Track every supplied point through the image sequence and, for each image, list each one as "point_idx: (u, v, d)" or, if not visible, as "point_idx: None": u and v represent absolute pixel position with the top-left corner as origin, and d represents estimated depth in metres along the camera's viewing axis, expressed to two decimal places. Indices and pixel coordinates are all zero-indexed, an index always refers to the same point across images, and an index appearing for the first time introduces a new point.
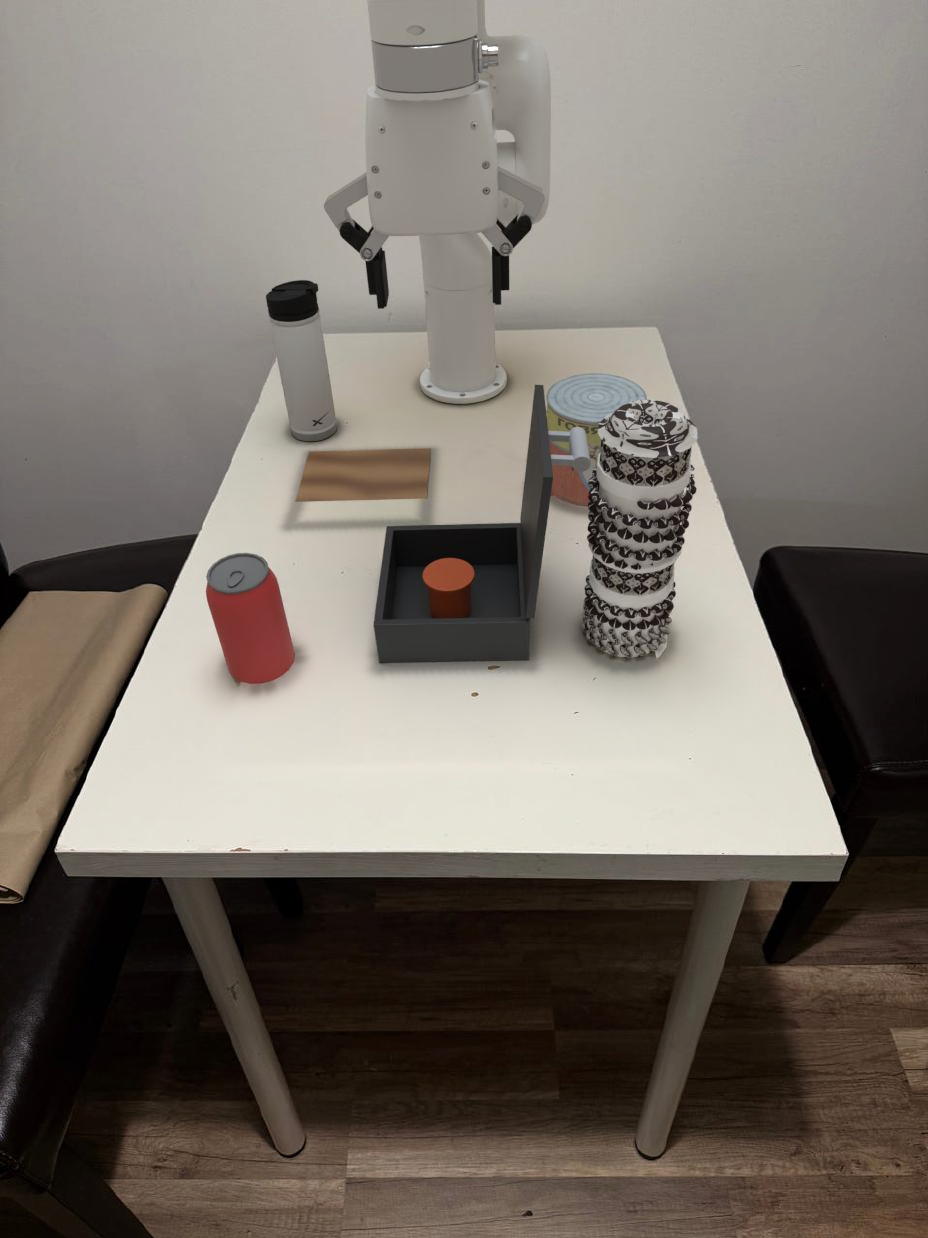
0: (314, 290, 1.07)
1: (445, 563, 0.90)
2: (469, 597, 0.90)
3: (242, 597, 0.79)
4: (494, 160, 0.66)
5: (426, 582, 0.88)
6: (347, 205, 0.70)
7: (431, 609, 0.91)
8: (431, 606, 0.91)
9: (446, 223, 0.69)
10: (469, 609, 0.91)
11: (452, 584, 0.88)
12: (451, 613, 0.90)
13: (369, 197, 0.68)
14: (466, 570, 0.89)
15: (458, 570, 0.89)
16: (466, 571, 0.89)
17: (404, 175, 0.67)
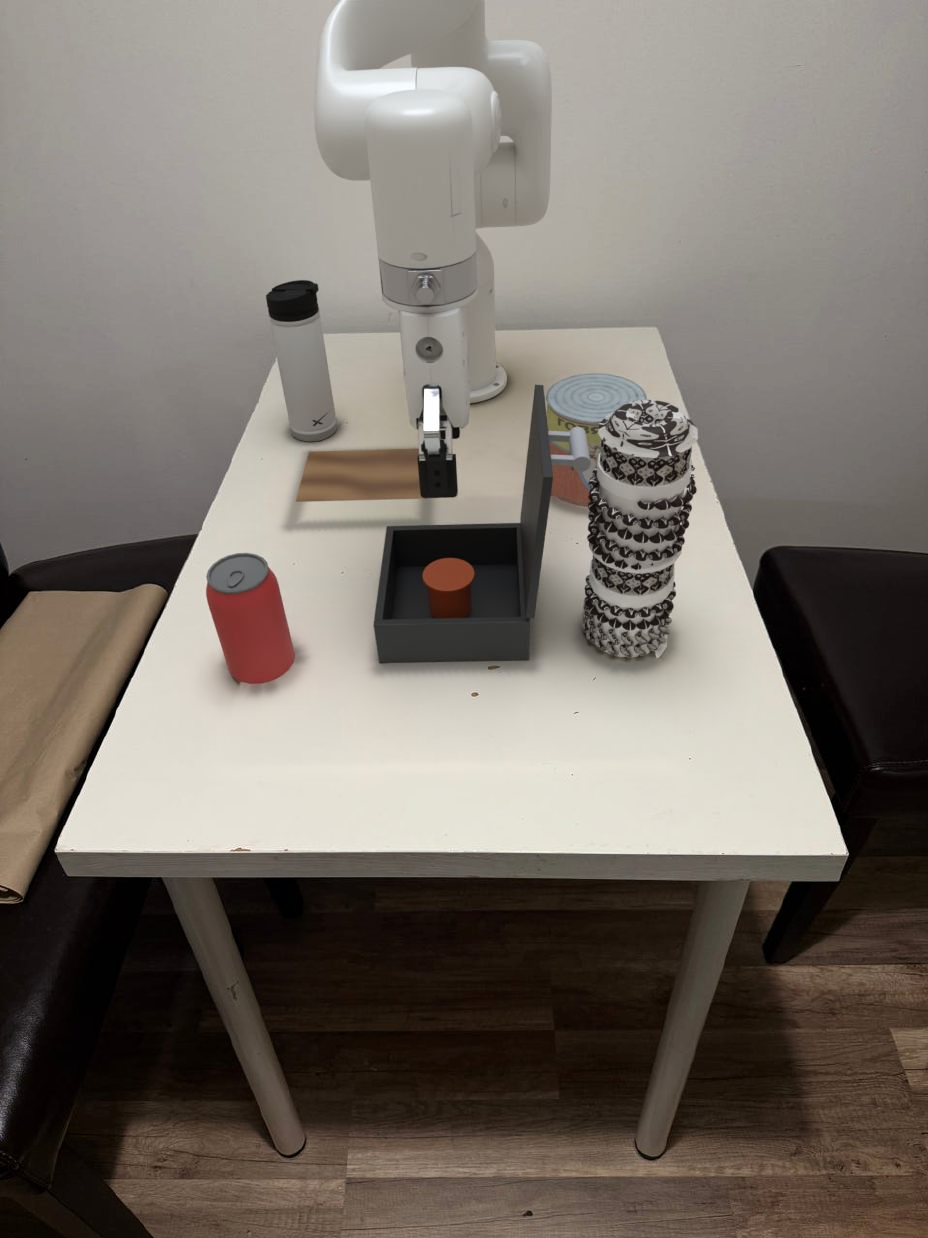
0: (314, 290, 1.07)
1: (445, 563, 0.90)
2: (469, 597, 0.90)
3: (242, 597, 0.79)
4: (410, 375, 0.70)
5: (426, 582, 0.88)
6: None
7: (431, 609, 0.91)
8: (431, 606, 0.91)
9: None
10: (469, 609, 0.91)
11: (452, 584, 0.88)
12: (451, 613, 0.90)
13: None
14: (466, 570, 0.89)
15: (458, 570, 0.89)
16: (466, 571, 0.89)
17: None
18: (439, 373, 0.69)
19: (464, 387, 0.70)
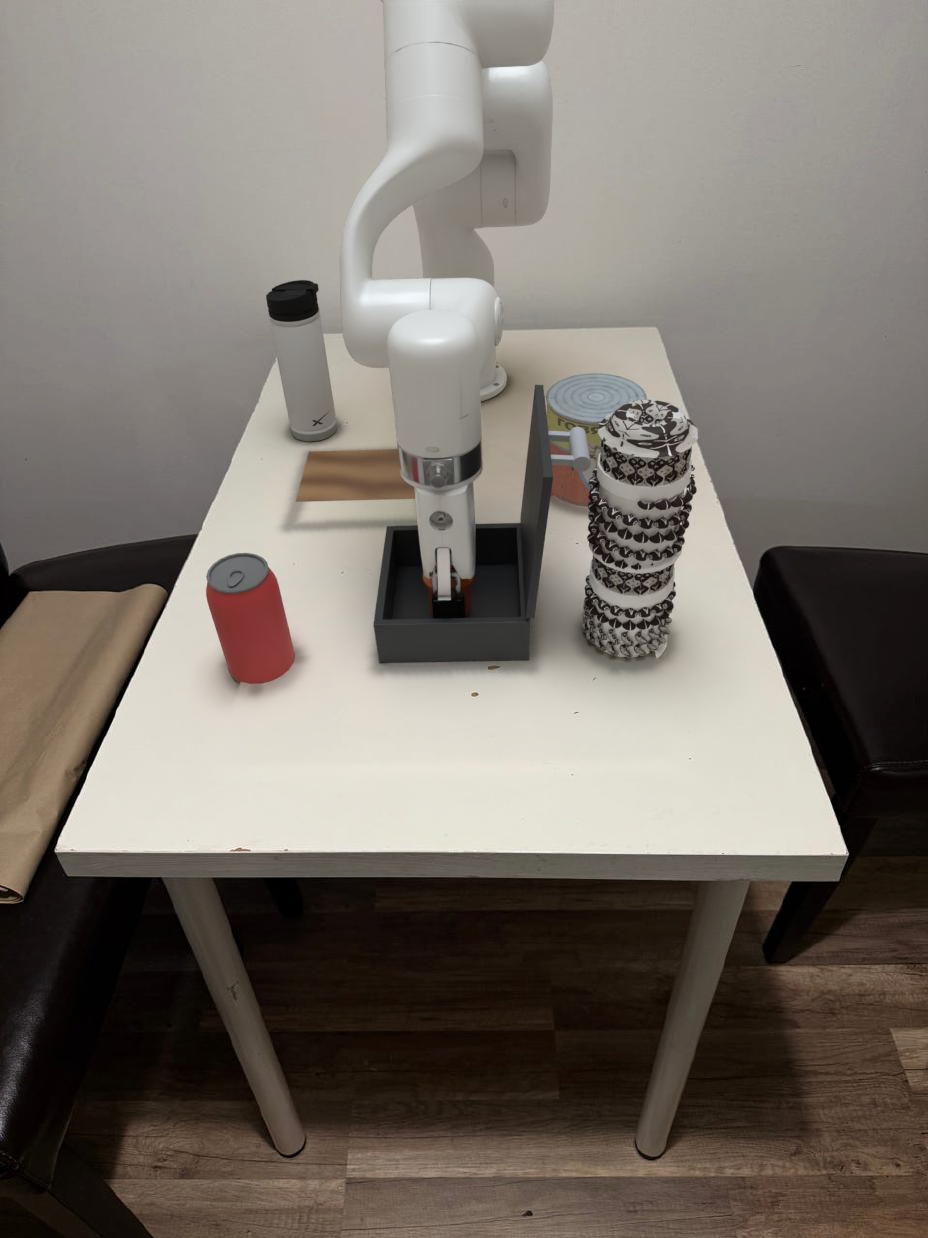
0: (314, 290, 1.07)
1: None
2: (469, 597, 0.90)
3: (242, 597, 0.79)
4: (424, 540, 0.80)
5: (426, 582, 0.88)
6: None
7: (431, 609, 0.91)
8: (431, 606, 0.91)
9: None
10: (469, 609, 0.91)
11: (452, 584, 0.88)
12: None
13: None
14: None
15: None
16: None
17: None
18: (449, 538, 0.80)
19: (471, 548, 0.81)
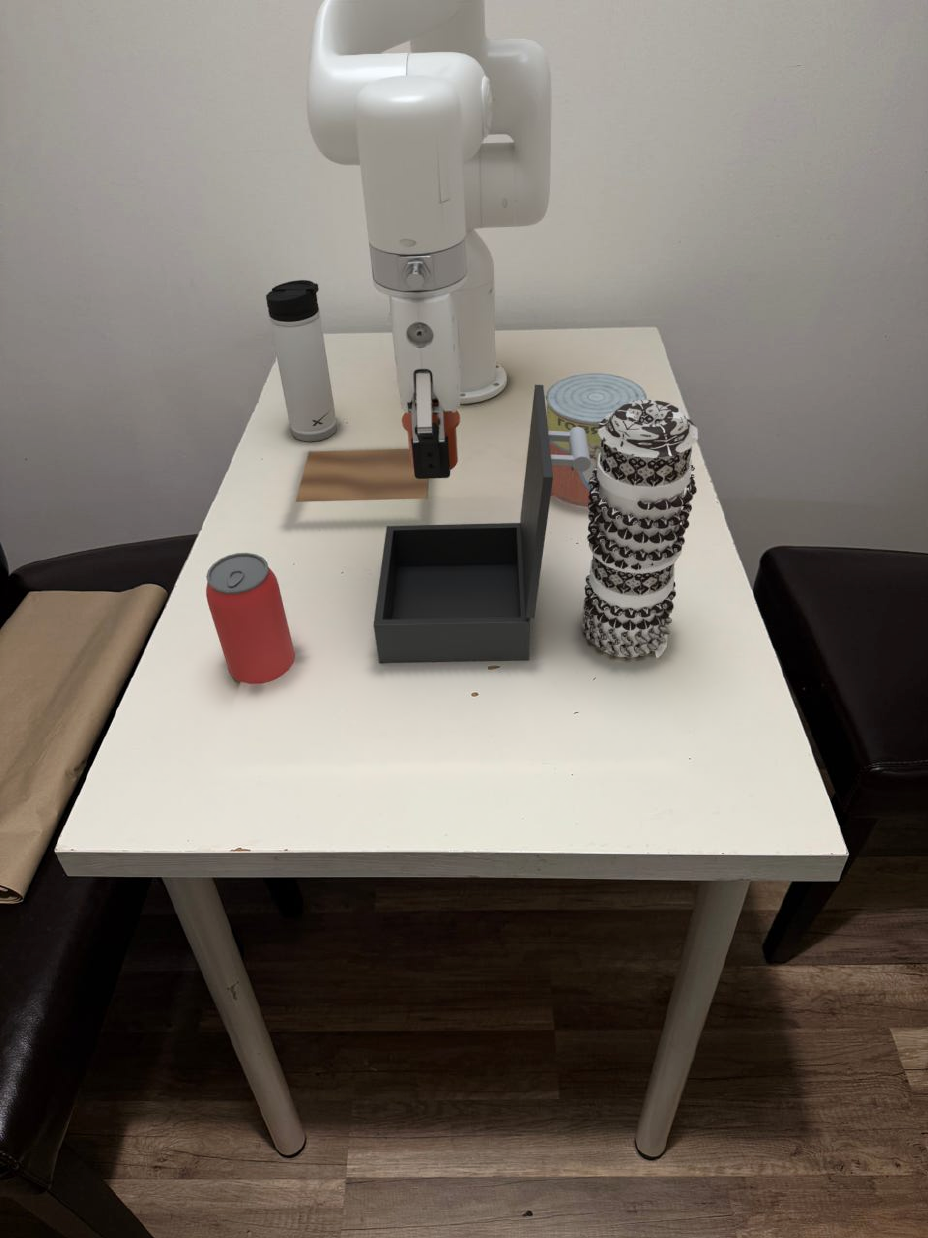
0: (314, 290, 1.07)
1: None
2: (454, 445, 0.80)
3: (242, 597, 0.79)
4: (401, 360, 0.71)
5: (405, 425, 0.79)
6: None
7: (412, 460, 0.81)
8: (412, 456, 0.81)
9: None
10: (454, 460, 0.81)
11: None
12: None
13: None
14: (451, 414, 0.80)
15: None
16: (451, 415, 0.79)
17: None
18: (430, 358, 0.70)
19: (454, 372, 0.71)
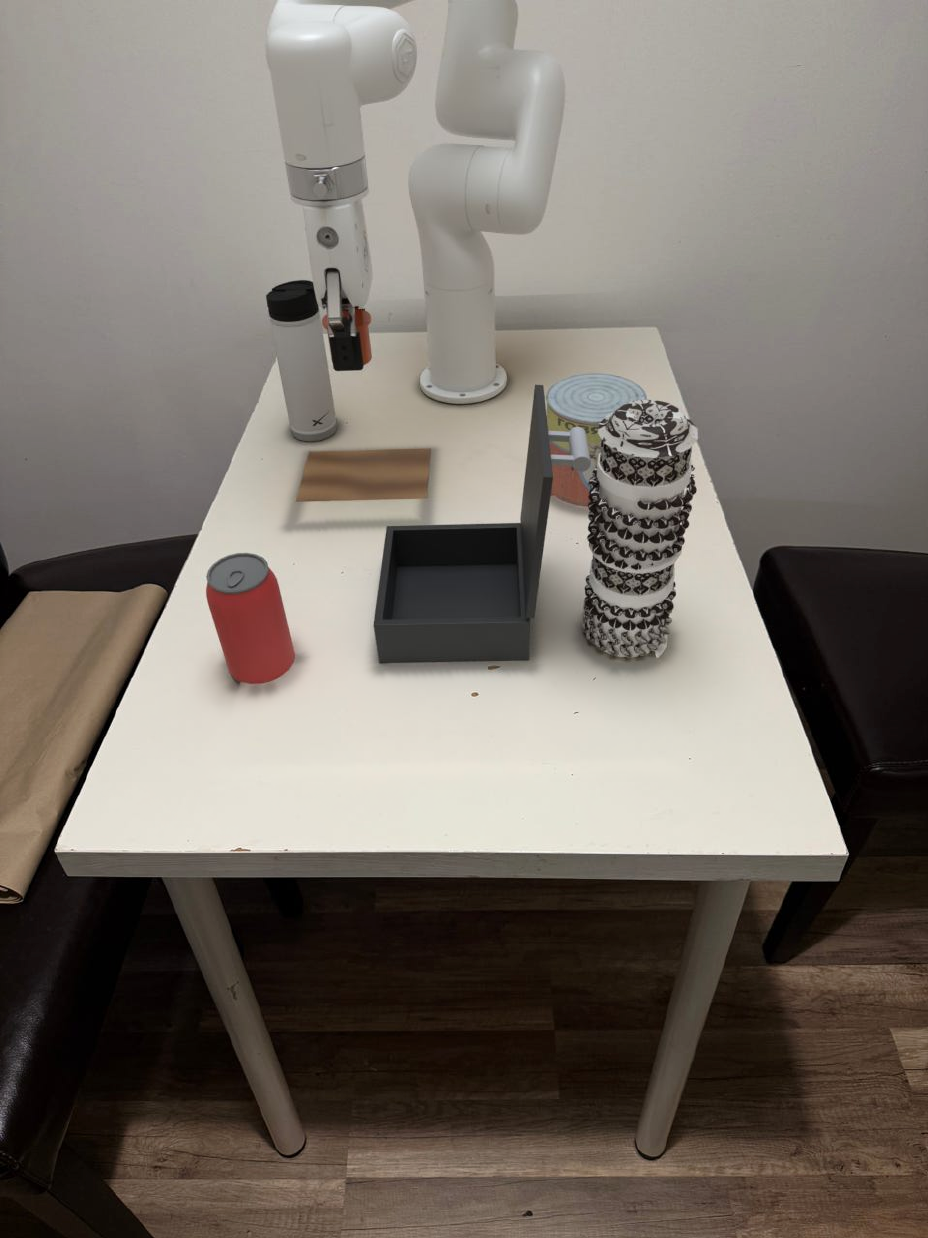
0: (314, 290, 1.07)
1: (344, 311, 0.95)
2: (367, 343, 0.95)
3: (242, 597, 0.79)
4: (313, 260, 0.85)
5: (324, 324, 0.93)
6: None
7: None
8: None
9: None
10: (368, 356, 0.96)
11: None
12: None
13: None
14: (363, 315, 0.94)
15: (356, 315, 0.94)
16: (363, 316, 0.94)
17: None
18: (337, 258, 0.85)
19: (359, 271, 0.86)
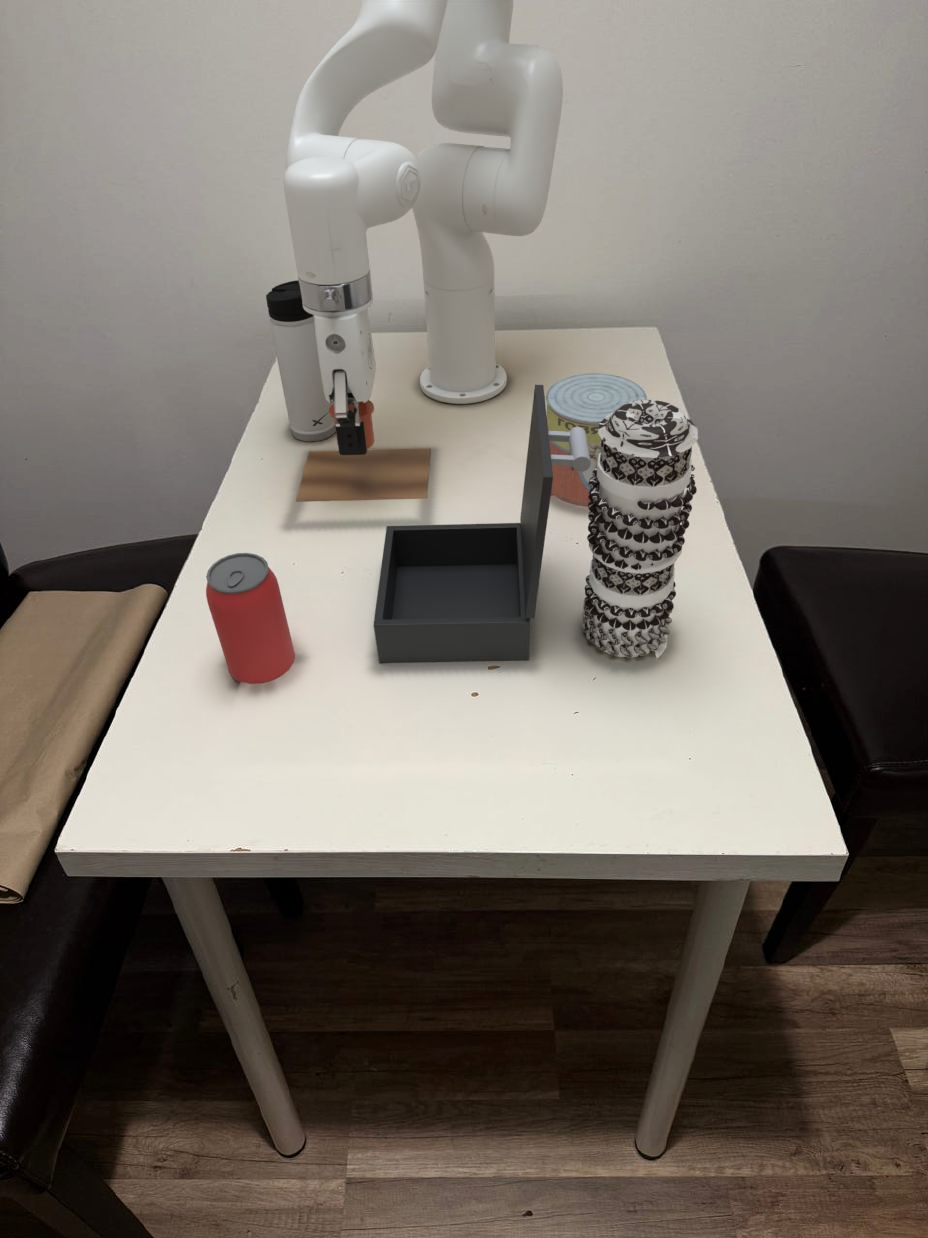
0: None
1: None
2: (370, 429, 1.04)
3: (242, 597, 0.79)
4: (322, 362, 0.95)
5: (331, 413, 1.02)
6: None
7: None
8: None
9: None
10: (371, 441, 1.05)
11: None
12: None
13: None
14: (367, 405, 1.04)
15: (360, 405, 1.04)
16: (367, 405, 1.03)
17: None
18: (343, 361, 0.94)
19: (363, 371, 0.95)
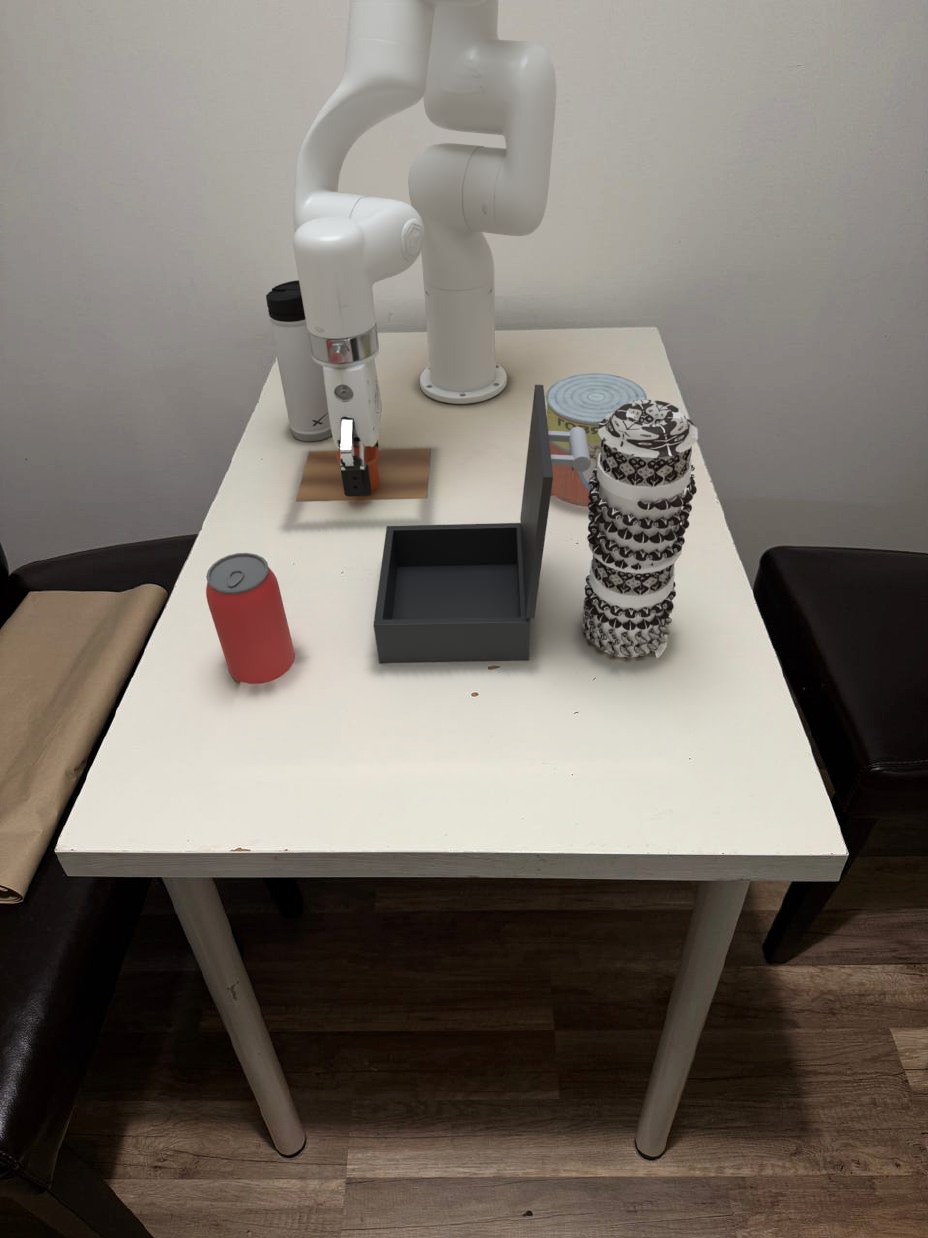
0: None
1: None
2: (376, 473, 1.08)
3: (242, 597, 0.79)
4: (331, 410, 0.99)
5: (338, 459, 1.07)
6: None
7: None
8: None
9: None
10: (376, 484, 1.09)
11: None
12: None
13: None
14: (373, 450, 1.08)
15: (366, 450, 1.08)
16: (372, 451, 1.08)
17: None
18: (351, 409, 0.98)
19: (370, 418, 0.99)
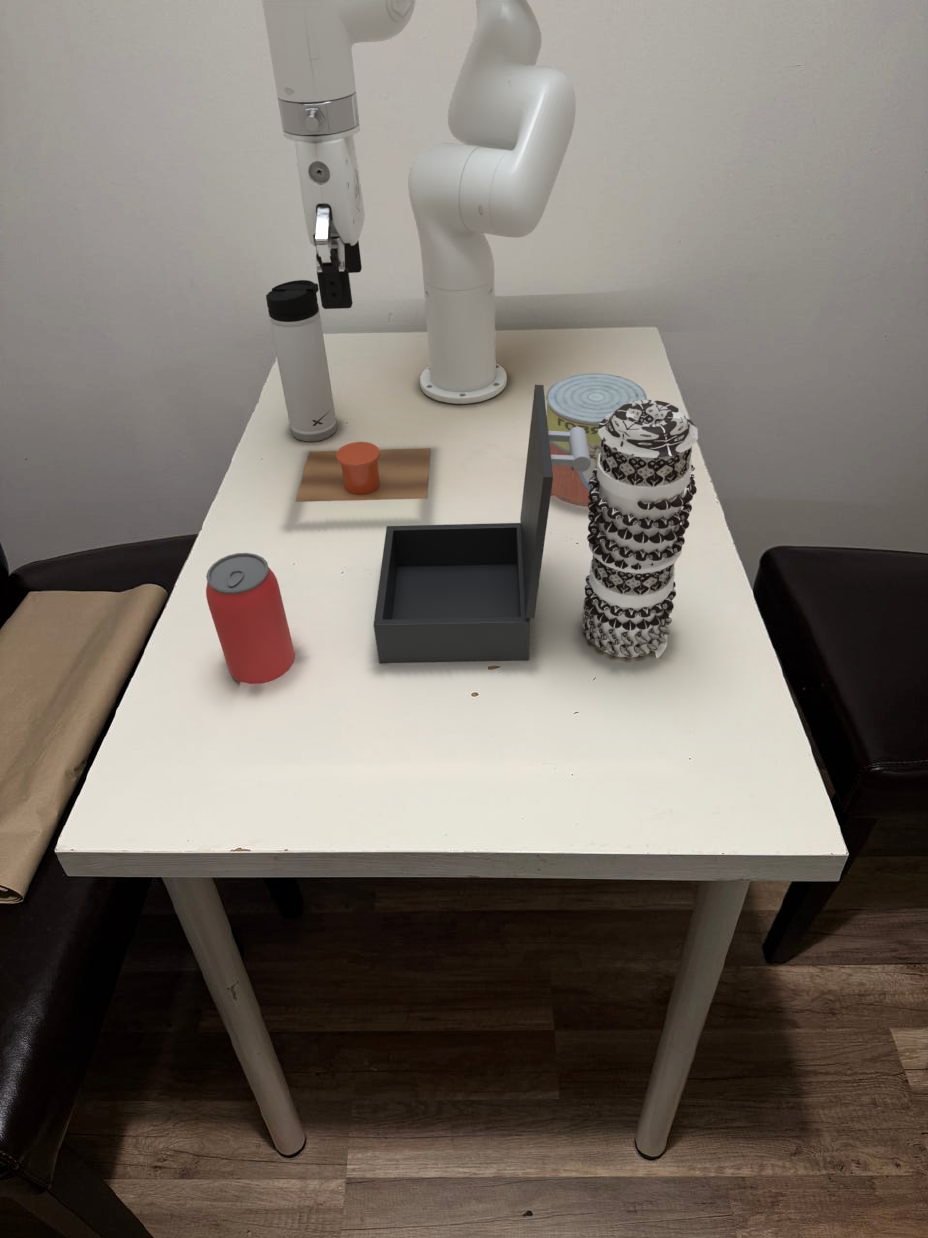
0: (314, 290, 1.07)
1: (356, 445, 1.09)
2: (376, 473, 1.08)
3: (242, 597, 0.79)
4: (305, 196, 0.87)
5: (338, 459, 1.07)
6: None
7: (345, 484, 1.09)
8: (344, 481, 1.09)
9: None
10: (376, 484, 1.09)
11: (360, 460, 1.06)
12: (360, 487, 1.08)
13: None
14: (373, 450, 1.08)
15: (366, 450, 1.08)
16: (372, 451, 1.08)
17: None
18: (328, 193, 0.87)
19: (350, 207, 0.88)
